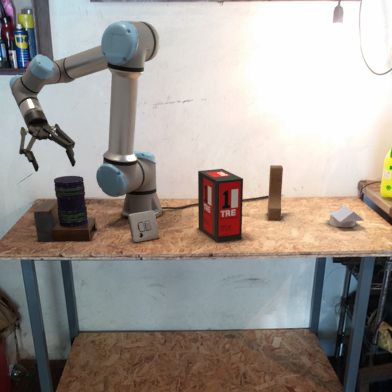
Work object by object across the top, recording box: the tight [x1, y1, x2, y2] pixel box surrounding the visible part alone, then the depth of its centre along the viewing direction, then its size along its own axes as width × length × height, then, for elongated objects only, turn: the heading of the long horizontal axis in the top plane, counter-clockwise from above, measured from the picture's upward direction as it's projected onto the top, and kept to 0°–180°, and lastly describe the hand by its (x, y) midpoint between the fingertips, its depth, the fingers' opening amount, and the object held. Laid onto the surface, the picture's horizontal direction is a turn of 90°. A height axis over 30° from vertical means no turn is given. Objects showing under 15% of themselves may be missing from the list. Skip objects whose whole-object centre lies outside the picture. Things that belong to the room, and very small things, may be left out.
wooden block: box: [267, 164, 284, 221], centre depth 211 cm, size 9×4×18 cm, turn 176°
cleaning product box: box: [197, 168, 244, 244], centre depth 193 cm, size 16×9×20 cm, turn 22°
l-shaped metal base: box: [33, 199, 97, 242], centre depth 196 cm, size 18×14×10 cm
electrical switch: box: [127, 210, 160, 243], centre depth 192 cm, size 9×5×9 cm, turn 121°
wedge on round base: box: [329, 204, 365, 228], centre depth 203 cm, size 9×7×13 cm
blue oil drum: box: [53, 175, 88, 228], centre depth 193 cm, size 10×10×15 cm
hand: (56, 166), depth 199 cm, fingers open, 13 cm apart
